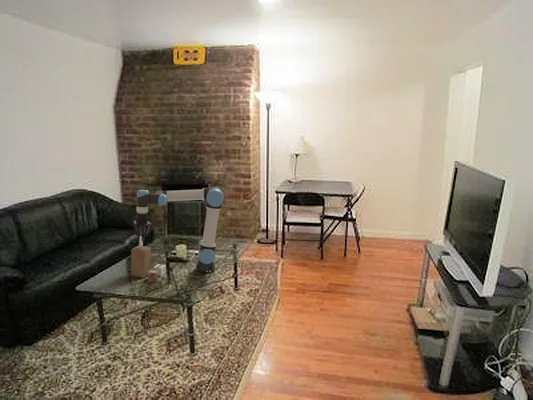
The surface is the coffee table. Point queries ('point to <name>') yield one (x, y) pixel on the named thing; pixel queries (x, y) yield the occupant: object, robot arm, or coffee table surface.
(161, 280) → the coffee table surface
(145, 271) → the block
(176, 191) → the robot arm
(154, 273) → the marked walnut cube
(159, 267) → the striped grey block
